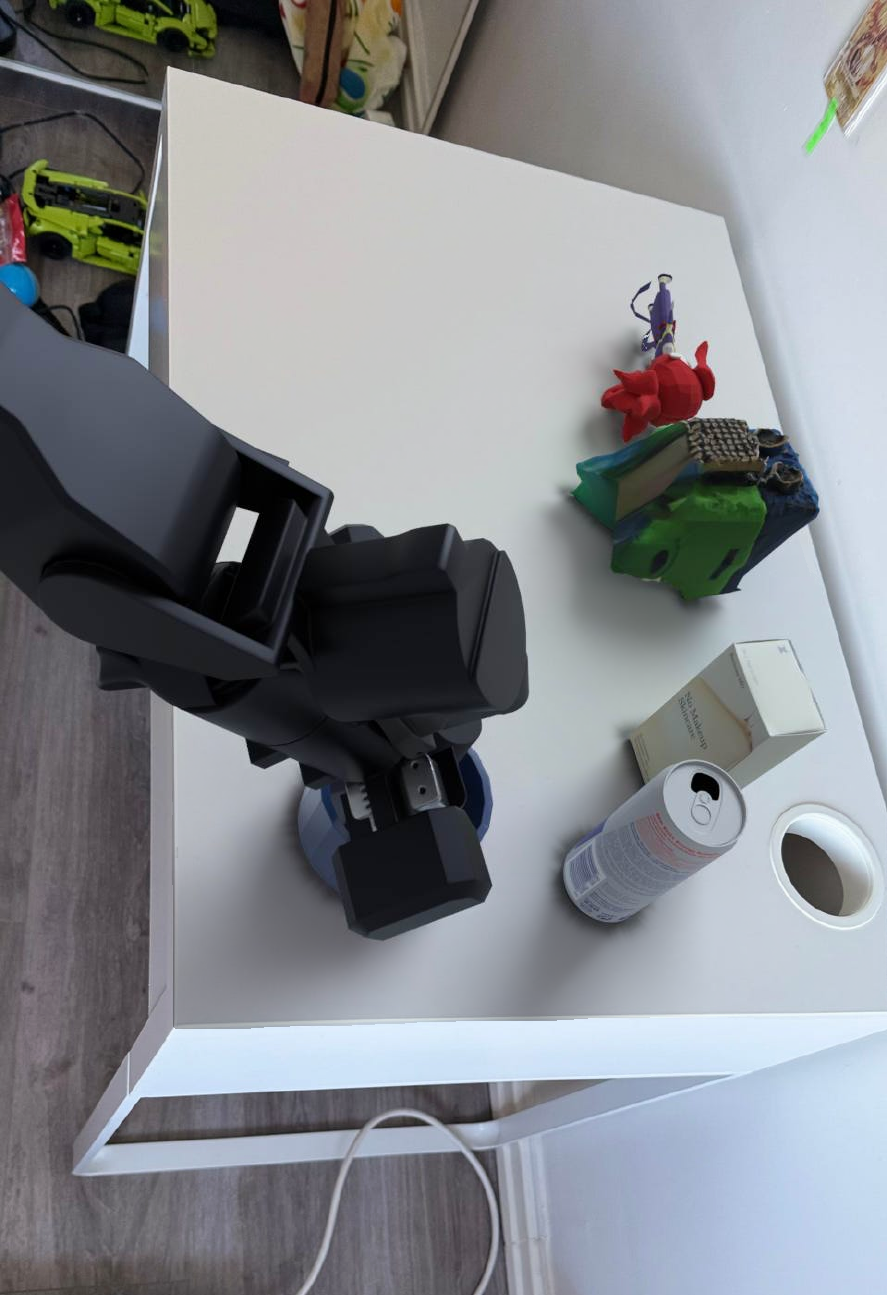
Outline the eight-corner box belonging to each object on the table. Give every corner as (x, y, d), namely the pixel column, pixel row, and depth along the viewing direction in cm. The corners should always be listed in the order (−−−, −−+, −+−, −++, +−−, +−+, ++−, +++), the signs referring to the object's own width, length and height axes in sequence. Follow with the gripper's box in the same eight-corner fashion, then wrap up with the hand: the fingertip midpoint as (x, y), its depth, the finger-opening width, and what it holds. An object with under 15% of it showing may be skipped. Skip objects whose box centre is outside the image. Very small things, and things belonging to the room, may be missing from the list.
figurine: (685, 327, 91) (701, 468, 84) (585, 317, 90) (593, 458, 83) (711, 261, 85) (730, 406, 79) (604, 249, 84) (615, 395, 78)
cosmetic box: (626, 735, 72) (728, 637, 61) (682, 730, 73) (790, 633, 63) (657, 823, 70) (768, 737, 59) (714, 815, 71) (831, 730, 61)
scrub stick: (348, 837, 61) (414, 740, 50) (361, 782, 62) (428, 676, 52) (409, 856, 61) (486, 764, 51) (420, 800, 63) (497, 701, 53)
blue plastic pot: (279, 878, 60) (300, 841, 55) (319, 731, 64) (342, 685, 60) (442, 927, 62) (477, 895, 57) (470, 781, 66) (504, 741, 62)
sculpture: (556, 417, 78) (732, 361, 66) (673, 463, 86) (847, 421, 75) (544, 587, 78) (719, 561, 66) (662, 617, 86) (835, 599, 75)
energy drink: (646, 859, 68) (756, 778, 58) (632, 937, 65) (745, 866, 55) (569, 828, 67) (667, 740, 57) (552, 905, 64) (651, 827, 54)
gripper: (537, 818, 37) (648, 881, 51) (400, 390, 44) (533, 549, 57) (267, 926, 41) (440, 957, 55) (177, 516, 47) (353, 637, 61)
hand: (445, 766), depth 57 cm, fingers closed on scrub stick, 2 cm apart
